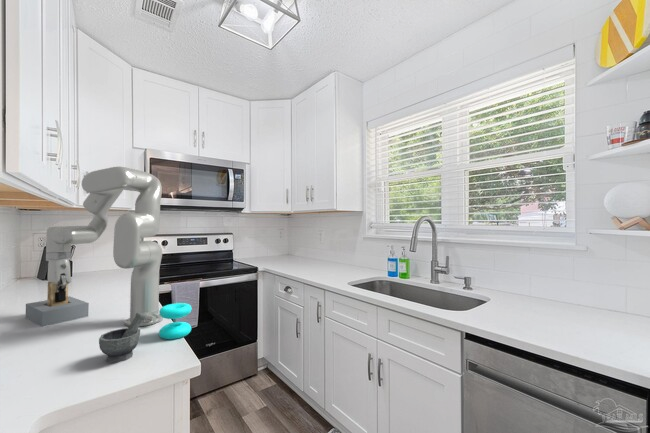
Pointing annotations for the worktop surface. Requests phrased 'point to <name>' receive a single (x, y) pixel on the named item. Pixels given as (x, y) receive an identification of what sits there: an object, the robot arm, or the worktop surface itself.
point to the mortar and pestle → (121, 341)
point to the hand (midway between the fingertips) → (57, 300)
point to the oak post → (52, 295)
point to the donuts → (175, 328)
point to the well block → (56, 311)
